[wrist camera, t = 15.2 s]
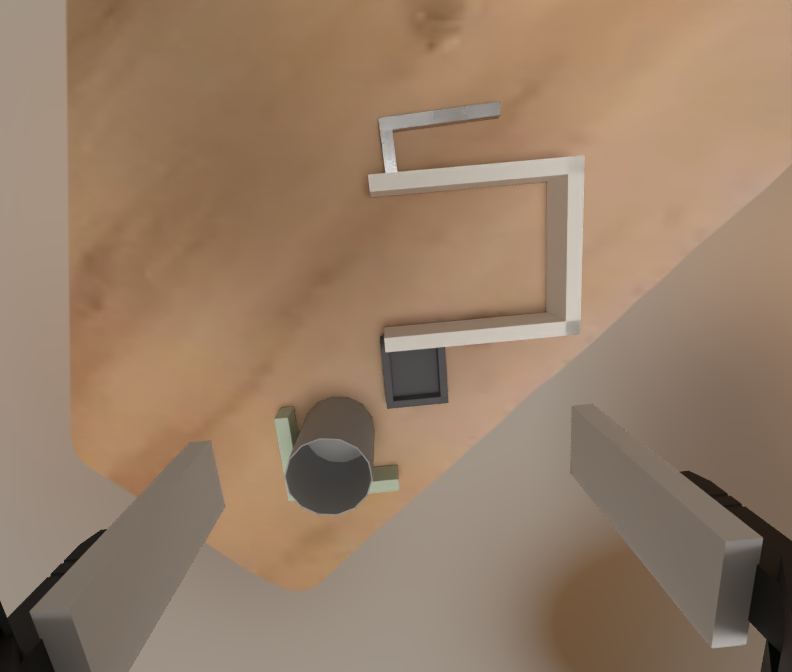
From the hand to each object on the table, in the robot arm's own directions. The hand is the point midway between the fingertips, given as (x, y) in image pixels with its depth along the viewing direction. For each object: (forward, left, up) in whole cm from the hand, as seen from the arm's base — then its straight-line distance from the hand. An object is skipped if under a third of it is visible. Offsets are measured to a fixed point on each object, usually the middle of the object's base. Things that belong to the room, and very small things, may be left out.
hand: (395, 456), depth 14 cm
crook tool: (+7, +17, -31) cm, 36 cm away
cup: (-7, -14, -31) cm, 35 cm away
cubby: (+9, +5, -31) cm, 33 cm away
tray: (+2, -7, -31) cm, 32 cm away
